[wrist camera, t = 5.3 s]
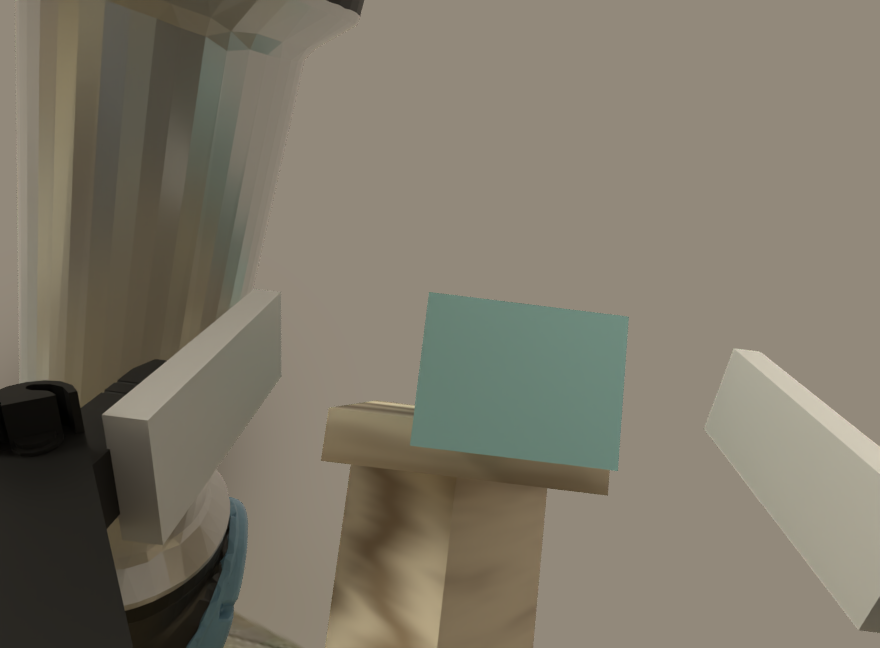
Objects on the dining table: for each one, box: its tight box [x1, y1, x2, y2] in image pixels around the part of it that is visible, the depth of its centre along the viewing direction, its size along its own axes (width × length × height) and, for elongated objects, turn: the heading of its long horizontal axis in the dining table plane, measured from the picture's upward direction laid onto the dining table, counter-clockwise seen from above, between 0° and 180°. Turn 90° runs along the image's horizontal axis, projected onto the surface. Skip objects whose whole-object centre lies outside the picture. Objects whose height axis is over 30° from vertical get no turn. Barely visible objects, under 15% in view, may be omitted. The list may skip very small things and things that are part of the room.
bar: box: [410, 292, 629, 471], centre depth 23 cm, size 26×4×3 cm, turn 1°
